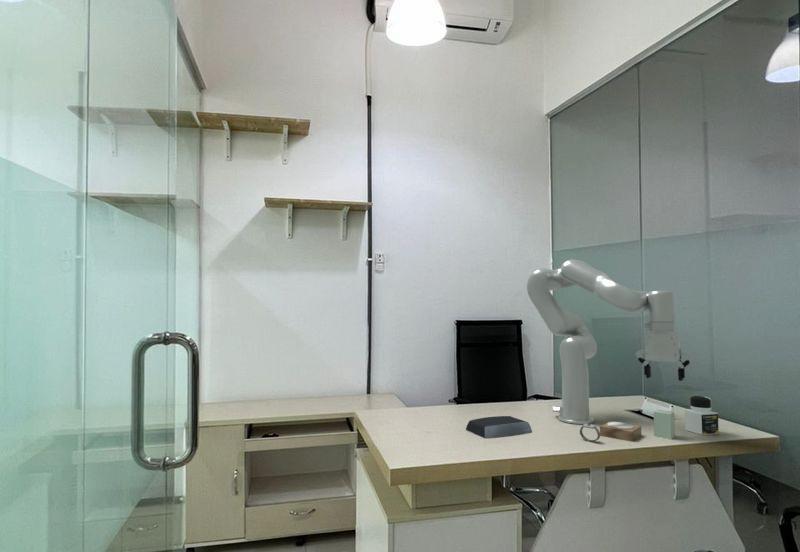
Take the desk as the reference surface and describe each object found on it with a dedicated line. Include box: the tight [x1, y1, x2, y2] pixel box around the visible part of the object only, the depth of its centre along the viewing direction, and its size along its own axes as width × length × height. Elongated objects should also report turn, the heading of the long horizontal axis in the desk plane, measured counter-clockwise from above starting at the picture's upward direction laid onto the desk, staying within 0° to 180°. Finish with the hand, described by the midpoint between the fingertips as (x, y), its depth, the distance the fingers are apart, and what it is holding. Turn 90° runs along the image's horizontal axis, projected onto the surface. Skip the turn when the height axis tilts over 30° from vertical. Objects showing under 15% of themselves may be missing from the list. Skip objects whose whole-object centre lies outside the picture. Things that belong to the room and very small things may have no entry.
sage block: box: [653, 409, 676, 440], centre depth 157 cm, size 5×5×8 cm
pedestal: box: [599, 420, 642, 442], centre depth 158 cm, size 10×10×3 cm
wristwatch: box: [579, 423, 601, 443], centre depth 151 cm, size 6×3×5 cm, turn 44°
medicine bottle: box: [683, 395, 720, 436], centre depth 163 cm, size 7×7×12 cm
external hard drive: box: [465, 415, 533, 439], centre depth 162 cm, size 13×19×4 cm
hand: (664, 378), depth 158 cm, fingers open, 9 cm apart
